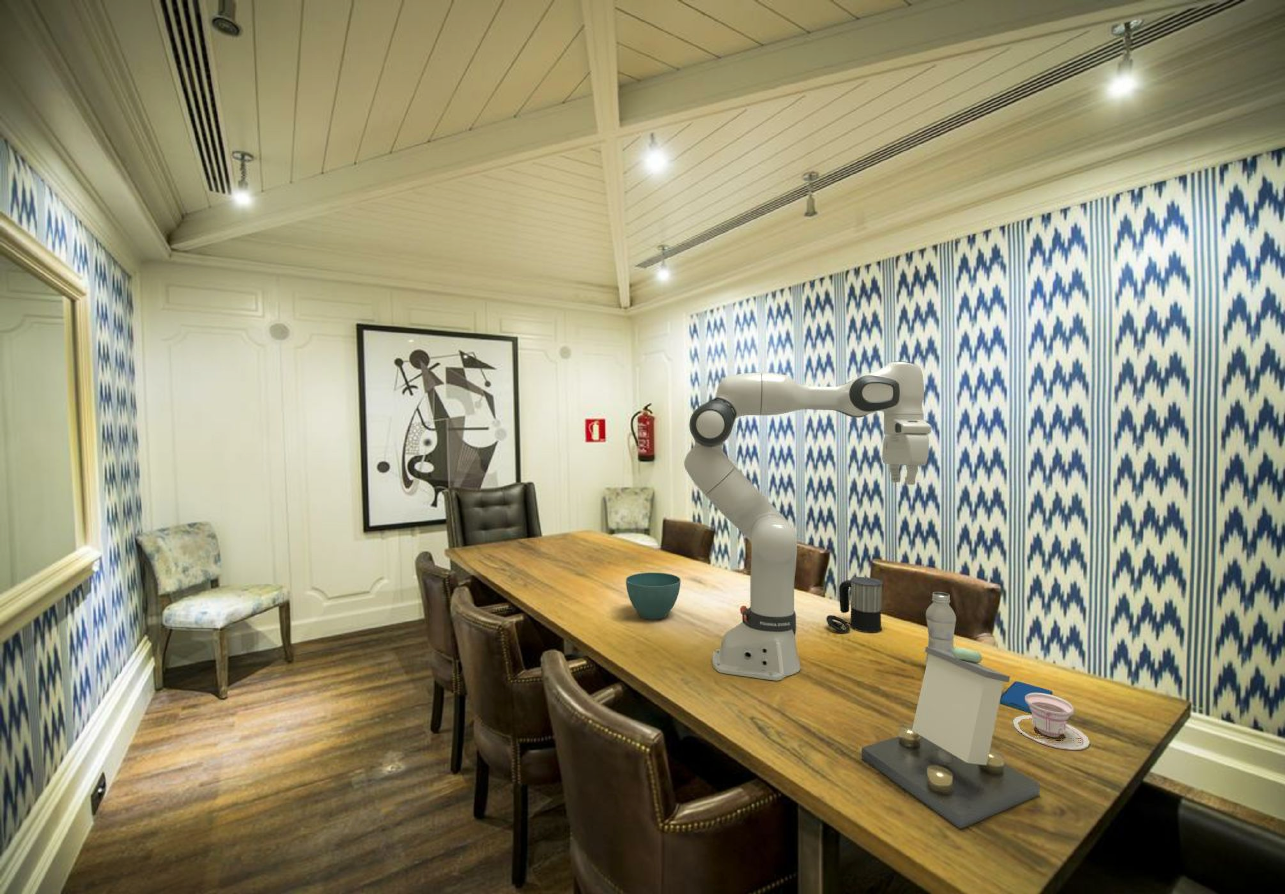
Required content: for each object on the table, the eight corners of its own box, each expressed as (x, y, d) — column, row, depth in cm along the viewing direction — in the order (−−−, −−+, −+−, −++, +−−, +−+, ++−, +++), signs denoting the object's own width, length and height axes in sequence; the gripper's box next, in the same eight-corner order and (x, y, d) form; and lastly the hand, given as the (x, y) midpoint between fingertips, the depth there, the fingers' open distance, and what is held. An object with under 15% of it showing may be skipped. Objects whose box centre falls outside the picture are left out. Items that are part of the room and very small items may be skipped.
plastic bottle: (961, 681, 126) (961, 598, 126) (930, 678, 128) (930, 597, 127) (950, 669, 133) (951, 591, 132) (921, 667, 134) (922, 589, 134)
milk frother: (886, 627, 163) (886, 580, 163) (869, 642, 151) (869, 590, 151) (840, 617, 172) (841, 572, 172) (821, 630, 160) (821, 582, 160)
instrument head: (964, 781, 84) (990, 659, 86) (904, 743, 95) (928, 635, 97) (988, 783, 86) (1012, 664, 89) (926, 746, 97) (949, 641, 99)
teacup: (1015, 711, 112) (1015, 683, 112) (1088, 731, 105) (1089, 700, 105) (1010, 736, 103) (1010, 705, 103) (1090, 759, 96) (1090, 726, 95)
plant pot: (623, 607, 182) (623, 572, 182) (675, 606, 184) (675, 571, 184) (628, 626, 164) (628, 587, 164) (685, 624, 166) (685, 585, 166)
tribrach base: (960, 829, 78) (960, 800, 78) (861, 758, 96) (861, 734, 96) (1039, 795, 86) (1039, 768, 86) (934, 735, 103) (934, 713, 103)
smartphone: (1053, 691, 121) (1038, 712, 111) (1053, 695, 121) (1038, 716, 111) (1015, 680, 126) (997, 699, 116) (1015, 684, 126) (997, 704, 116)
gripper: (876, 429, 140) (875, 480, 140) (905, 425, 120) (904, 485, 120) (901, 429, 140) (900, 481, 140) (934, 425, 119) (933, 486, 119)
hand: (902, 483), depth 130 cm, fingers open, 8 cm apart
